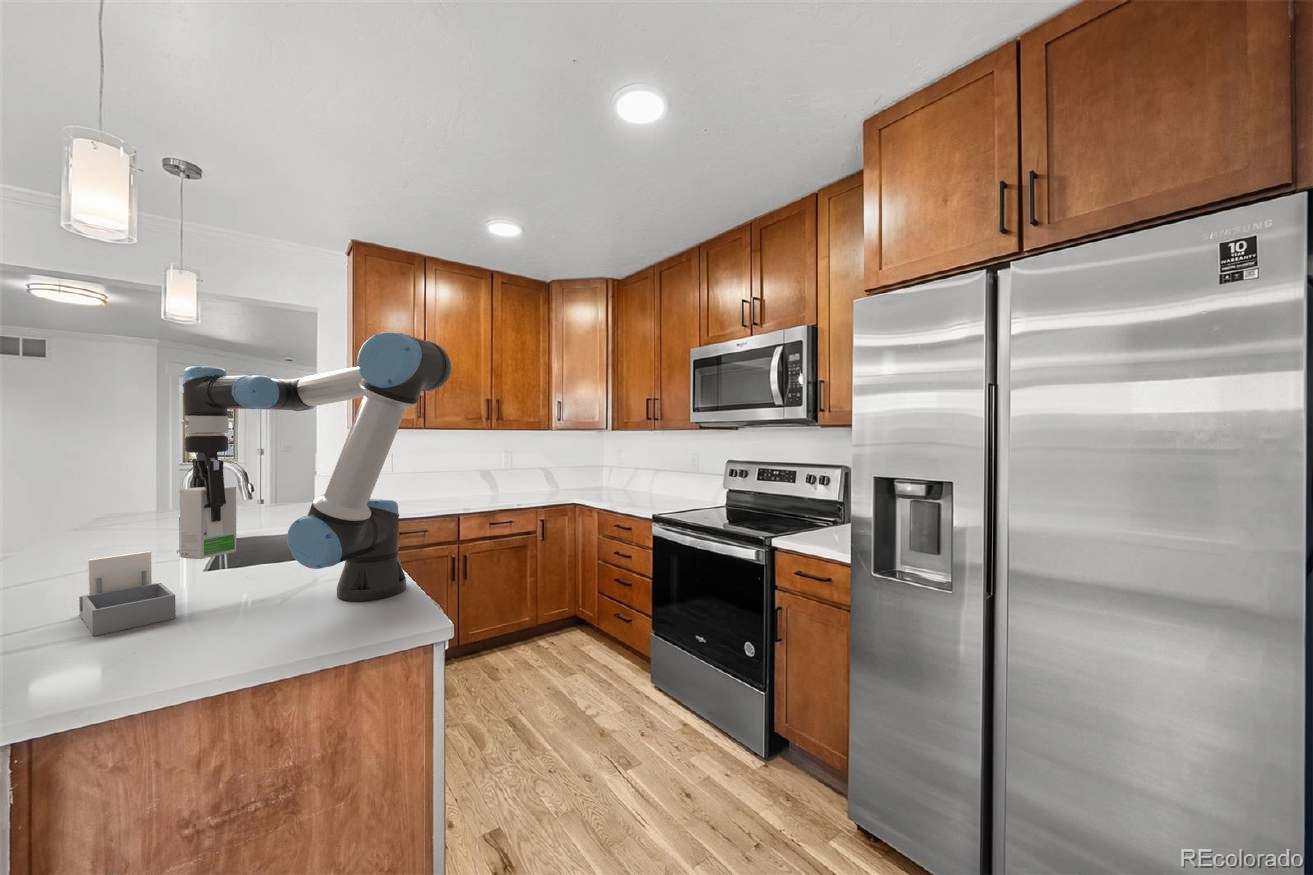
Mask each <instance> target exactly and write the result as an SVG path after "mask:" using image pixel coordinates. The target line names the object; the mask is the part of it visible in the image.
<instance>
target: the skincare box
mask: <svg viewBox="0 0 1313 875" xmlns="http://www.w3.org/2000/svg"><path fill="white" fill-rule="evenodd" d="M224 488H225V500H226V504H223V506H222V508H223V535H219V536H211V537H207V522H206V508H204V505H206V504H208V503H207V491H206V489H205V487H198V488H193V487H189V488H187V487H186V488H180V489H179V499H180V500H179V515H180V516H179V519H180V520H179V523H180V524H179V532H180V534H179V539H180V540H179V544H180V545H179V546H180V547H179V550H180V551H179V554H180V555H179V558H182V559H191V560H193V559H194V560H203V559H204V560H205V559H208V558H213V557H218V556H222V555H226V554H232V553H236V552H237V486H233V485H232V486H230V485H229V486H226V485H224Z"/></svg>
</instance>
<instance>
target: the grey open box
mask: <svg viewBox="0 0 1313 875" xmlns="http://www.w3.org/2000/svg"><path fill="white" fill-rule="evenodd" d="M87 562H88V563H87V565H88V566H87V570H88V572H87V574H88V578H87V579H88V594H85V595H84V594H83V595H79V596H78V598H79V599H78V600H79V602H78V603H79V604H78V606H79V616H80V618H81V620H82V619H83V620H82V621H83V623H84V624H85V626H86V627H88V628H87V629H88V631H89V632H91V633H90V634H91V636H92V637H96V636H99V635H104V634H110V633H114V632H119V631H124V630H126V629H127V628H128V629H133V628H137V627H141V626H142V627H143V626H146V625H150V624H155V623H160V622H164V621H169V620H172V619H173V620H174V619H176V594H175V593H174V592H172V591H171V590H170V589H169V588H167V587H166V586H165V585H164V584H163V583H162V582H157V583H155V582H154V583H153V582H152V579H153V578H152V551H150V550H148V551H142V552H132V553H127V554H126V553H125V554H120V555H112V556H111V555H110V556H103V557H97V558H89V559H88V560H87ZM132 627H133V628H132ZM128 629H127V630H128ZM109 632H110V633H109Z"/></svg>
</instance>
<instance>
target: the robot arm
mask: <svg viewBox="0 0 1313 875" xmlns="http://www.w3.org/2000/svg"><path fill="white" fill-rule="evenodd" d="M448 354H449V353H447V351H445V349H444V348H443V347H442V346H440V345H439V344H437V343H436V342H433V341H430V340H424V339H421V338H417V337H415V336H412V335H409V334H405V333H403V332H392V331H385V332H379V333H377V334H374V335H372V336H371V337H369V338H368V339H367V340H366V341H364V343H363V344H362V345H361V347H360V349H359V351H358V354H357V359H356V361H357V362H356V363H357V366H355V367H354V366H353V367H348V368H343V369H338V370H334V371H329V372H324V373H323V372H322V373H318V374H313V375H307V376H304V377H303V376H302V377H298V378H292V379H282V378H273V377H269V376H266V375H258V374H247V375H227V371H226V369H224V368H222V367H215V366H214V367H213V366H188V367H186V368H184V370H183V381H182V382H183V383H182V388H183V408H184V410H183V411H184V412H183V413H184V419H183V420H181V421H180V423H181V424H182V425H185V426H184V432H185V434H187V436H186V437H184V451H185V452H187V453H192V454H195V453H197V455H196V458H193V459H192V460H191V462H192V488H198V487H205V489H206V491H207V503H208V504H206V505H204V508H206V522H207V537H211V536H219V535H223V508H222V506H223V504H226V500H225V488H224V486H225V476H224V461H223V460H222V459H219V455H218V453H224V452H225V453H226V452H227V451H229V436H227V435H226V434H228V433H229V414H228V410H229V409H231V410H232V409H233V410H237V409H238V410H240V409H241V410H242V409H243V410H246V409H247V410H273V411H277V410H278V411H279V410H280V411H293V412H294V411H295V412H300V411H301V412H303V411H310V410H312V409H314V408H315V407H317V406H322V405H328V404H333V403H340V402H345V401H349V400H350V401H351V400H355V399H361V398H362V399H361V402H360V404H359V407H358V409H357V411H356V413H355V417H354V419H353V422H352V424H351V427H350V430H349V432H348V434H347V437H346V439H345V443H344V445H343V447H342V450H341V452H340V454H339V457H338V460H337V462H336V464H335V467H334V470H333V472H332V475H331V476H330V477H331V478H330V480H329V482H328V485H327V488H326V489H325V492H324V493H323V494H321V495H319V496H316V497H315V498H313V501H312V503H311V506H310V508H309V510H308V512H307V515H304V516H301V517H299V518H298V519H296V520H294V522H292V523H291V525H290V527H289V528H288V531H287V536H286V537H287V538H286V543H287V546H288V549H289V551H290V552H291V555H292V557H293V558H294V559H295V560H296V562H298V563H299V564H300V565H302V566H304V567H306V568H308V569H312V570H320V569H324V568H329V567H330V568H331V567H334V566H336V565H338V564H340V563H342V562H344V565H343V568H342V571H341V573H340V574H341V575H340V577H339V580H338V582H337V585H336V597H337V599H340V600H341V601H349V602H362V601H363V602H364V601H375V600H380V599H384V598H388V597H392V596H395V595H398V594H400V593H402V592H403V591H405V590H406V588H407V579H406V578H407V577H406V576H405V575H406V574H405V572H404V570H403V567H402V564H401V562H400V558H399V525H400V524H399V519H400V518H399V517H400V514H399V505H398V502H397V501H395V500H392V499H371V497H372V494H373V491H374V489H375V487H376V484H377V481H378V479H379V477H380V474H381V473H382V472H381V471H382V469H383V467H384V464H385V461H386V460H387V456H388V455H389V452H390V449H391V447H392V446H393V442H394V440H395V438H396V435H397V432H398V430H399V427H400V425H401V422H402V420H403V418H404V415H405V413H406V410H407V409H408V408H411V407H414V406H417V403H418V400H419V398H420V396H421V393H422V392H431V391H435V390H438V389H440V388H441V387H443V386H444V385H446V384H447V382H448V380H449V378H450V377H451V374H452V368H453V367H452V361H451V358H450V356H449V355H448Z"/></svg>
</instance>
